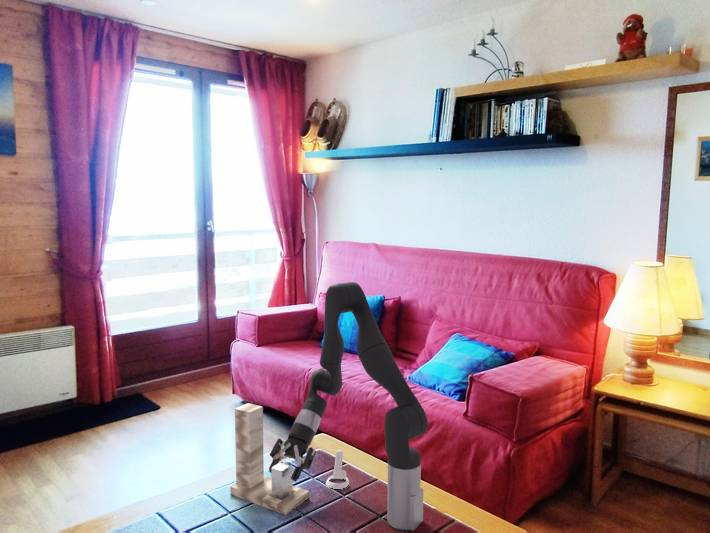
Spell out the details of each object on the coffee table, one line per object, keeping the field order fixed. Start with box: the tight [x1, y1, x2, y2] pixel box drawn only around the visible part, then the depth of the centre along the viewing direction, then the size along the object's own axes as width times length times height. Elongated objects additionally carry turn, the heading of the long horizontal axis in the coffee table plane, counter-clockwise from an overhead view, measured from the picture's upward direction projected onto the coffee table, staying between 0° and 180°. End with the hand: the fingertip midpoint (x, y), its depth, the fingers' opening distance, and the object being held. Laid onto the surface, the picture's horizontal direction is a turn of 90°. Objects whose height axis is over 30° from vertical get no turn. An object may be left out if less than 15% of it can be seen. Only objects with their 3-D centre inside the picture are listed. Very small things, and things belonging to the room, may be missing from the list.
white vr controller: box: [325, 449, 350, 490], centre depth 179 cm, size 8×12×7 cm
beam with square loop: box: [229, 402, 310, 516], centre depth 168 cm, size 22×11×26 cm, turn 57°
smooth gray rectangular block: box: [270, 460, 294, 500], centre depth 167 cm, size 4×5×11 cm
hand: (282, 476), depth 166 cm, fingers open, 8 cm apart
